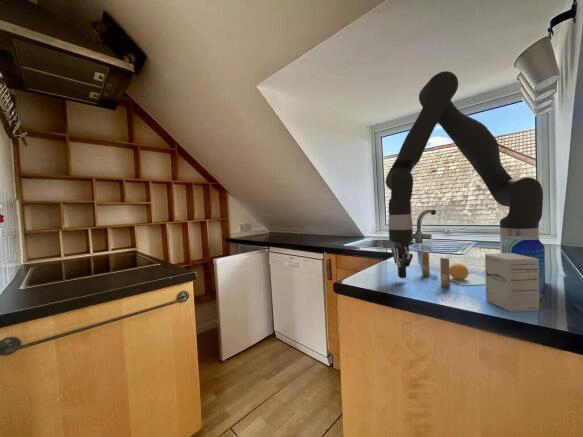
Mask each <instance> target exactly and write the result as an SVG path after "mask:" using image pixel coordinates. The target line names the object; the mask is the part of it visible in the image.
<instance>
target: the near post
mask: <svg viewBox="0 0 583 437" xmlns="http://www.w3.org/2000/svg"><path fill="white" fill-rule="evenodd" d="M439 260H440V261H439V262H440V266H439V267H440V275H441V276H440V286H441V287H442V288H447V289H448V288H451V280H450V258H449V257H440V258H439Z"/></svg>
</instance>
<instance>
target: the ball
mask: <svg viewBox="0 0 583 437" xmlns="http://www.w3.org/2000/svg"><path fill="white" fill-rule="evenodd" d="M449 268H450V275H451V276H452V277H453V278H454V279H457V280H463V279H465V278H467V276H468V274H470V272H469V269H468V267H466V265H464V264H462V263H454V264H451V266H449Z"/></svg>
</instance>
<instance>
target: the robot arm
mask: <svg viewBox="0 0 583 437" xmlns="http://www.w3.org/2000/svg"><path fill="white" fill-rule="evenodd" d="M458 88H459V79H458V77H457V75H456V74H454V73H453V72H452V71H446V70H444V71H441V72H437V73H436V74H435V75H433V76H432V77H431V78H430V79H429V80H428V81H427V82H426V83H425V85H424V86H423V87H422V88H421V90H420V91H419V94H418V100H419V104H420V105H421V107H422V109H420V110H421V111H420V112H419V113H418V117H417V118H416V120H415V121H414V123H413V125H412V127H411V128H410V130H409V131H408V132H407V135H406V137H405V138H404V140H403V143H402V145H401V147H400V149H399V152H398V154H397V157H396V159H395V160H394V161H393V164H392V166H391V167H390V169H389V171H388V173H387V175H386V178H385V185H386V187H387V188H388V190H390V199H389V200H388V225H387V226H388V240H389V242H391V243H393V247H391V249H390V250H391V254H392V257H393V258H392V259H393V262H394V264H396V266H397V275H398V277H399V278H400V279H406V278H407V267H410V265H411V262H412V260H413V257H414V255H413V253H410V247H409V243H412V242H413V241H414V235H413V234H414V233H413V232H414V230H413V228H414V227H413V216H412V202H411V200H412V195H413V189H414V188H413V187H414V178H413V174H412V171H413V169H414V167H416V165H418V163H419V161H420V160H421V158H422V156H423V153H424V151H425V149H426V147H427V144H428V142H429V140H430V138H431V136H432V134H433V131H434V129H435V128H436V125H437V124H439V126H440V127H441V128H442V129H443V131H444V132H445V133H446V135H447V136H448V137H449V138H450V139H451V140H452V142H453V144H454V145H455V146H456V148H457V149H458V150H459V151H460V152H461V154H462V155H463V156H464V157H465V159H466V160H467V161H468V163H469V164H470V165H471V166H472V167H473V169H474V171H476V173H477V174H478V175H479V176H480V178H481V180H482V182H483V183H484V185H485V186H486V187H487V190H488V191H489V193H490V194H491V196H492V198H493V200H494V201H495V202H497V204H499V205H501V206H503V207H508V213H507V215H506V216H504V217H503V218H501V219H500V220H499V244H500V246H499V247H500V248H499V250H500V253H502V244H503V243H504V242H505V240H506V239H507V238H506V237H508V236H531V237H538V238H539V239H540V235H539V223H540V222H541V219H542V217H543V206H544V204H543V203H544V191H543V186H542V184H541V183H540V181H538V180H537V179H536V178H533V177H530V176H529V177H527V176H525V177H519V178H513V177H512V176H511V175H510V174H509V173H508V172H507V170H506V169H505V168H504V167H503V166H504V165H502V162H501V157H500V156H501V155H500V153H501V152H500V146H499V143H498V141H497V139H496V138H495V136H494V135H493V134H492V132H491V131H490V130H489V129H488V127H487V126H486V125H485V124H484V123H482V122H480V121H479V120H477V119H475V118H473V117H471V116H469V115H467V114H464V113H463V112H462V111H460V110H459V108H457V107H456V105H455V104H454V103H453V101H452V99H453V97H454V96H455V95H456V93H457V91H458Z"/></svg>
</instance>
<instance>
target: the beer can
mask: <svg viewBox="0 0 583 437" xmlns="http://www.w3.org/2000/svg"><path fill="white" fill-rule="evenodd" d="M506 238H507V239H506V240H505V242H504V243H503V244H502V253H514V254H518V255H523V256H528V257H532V258H537V259H539V299H541V298H542V297H543V296H544V295H546V262H545V260H546V257H545V256H546V252H545V251H546V250H545V249H546V248H545V245H544V244H543V243H542V242H541V241H540V237H539V238H538V237H531V236H508V237H506Z"/></svg>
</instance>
